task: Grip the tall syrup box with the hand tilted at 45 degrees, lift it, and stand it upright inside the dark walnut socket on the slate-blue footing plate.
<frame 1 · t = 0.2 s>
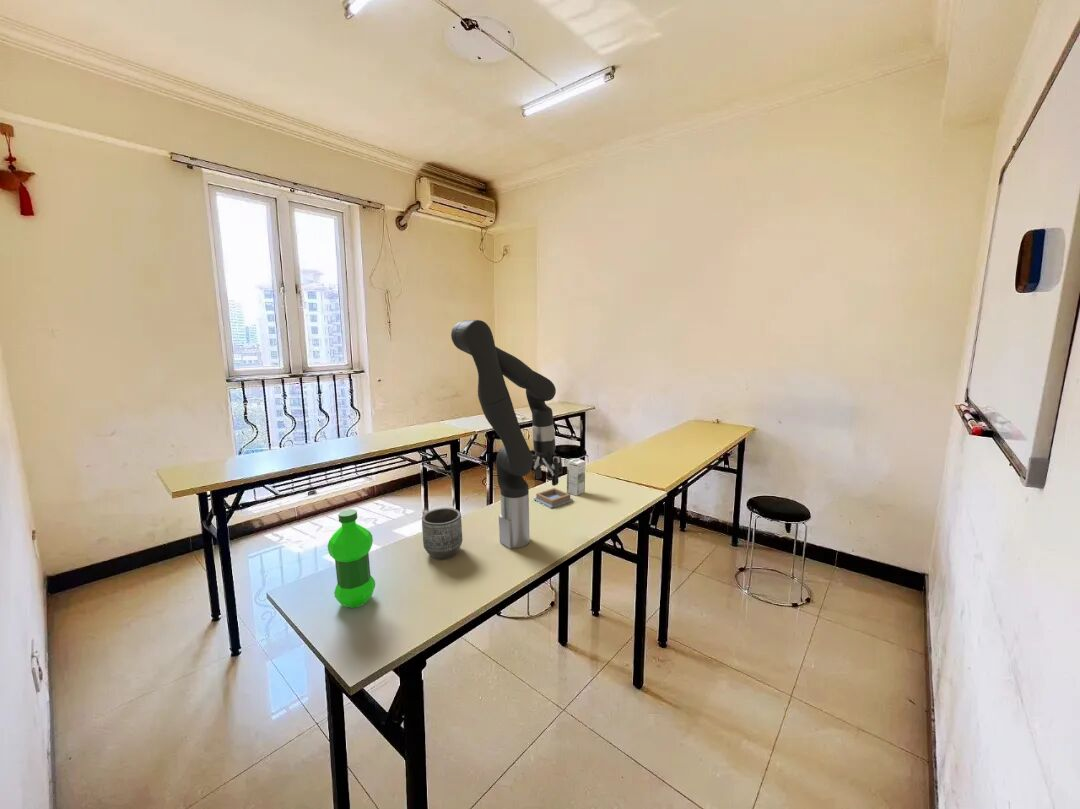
hand: (546, 481, 148), 18 cm above the table, tool pointing down, fingers open, 8 cm apart
footing plate: (553, 500, 176), on the table
syrup box: (576, 493, 184), on the table
planter: (443, 553, 136), on the table
plastic bottle: (356, 602, 112), on the table
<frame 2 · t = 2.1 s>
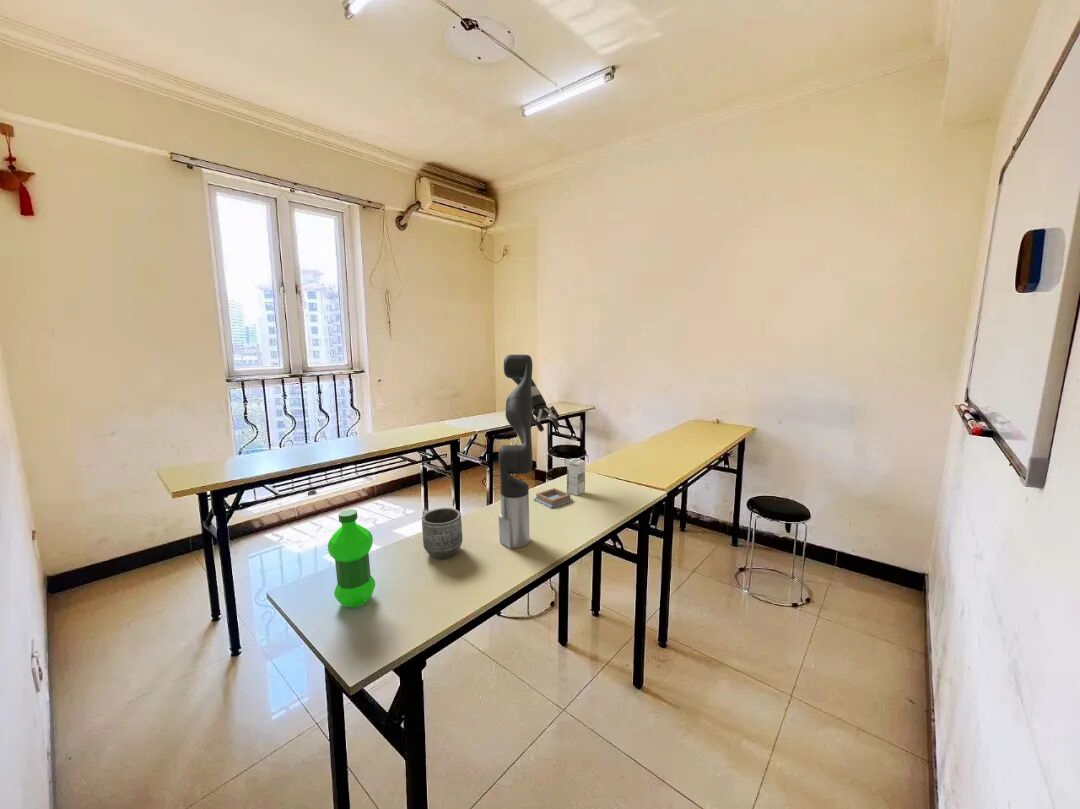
hand: (550, 429, 183), 28 cm above the table, tool tilted 45°, fingers open, 8 cm apart
nothing on the table moved.
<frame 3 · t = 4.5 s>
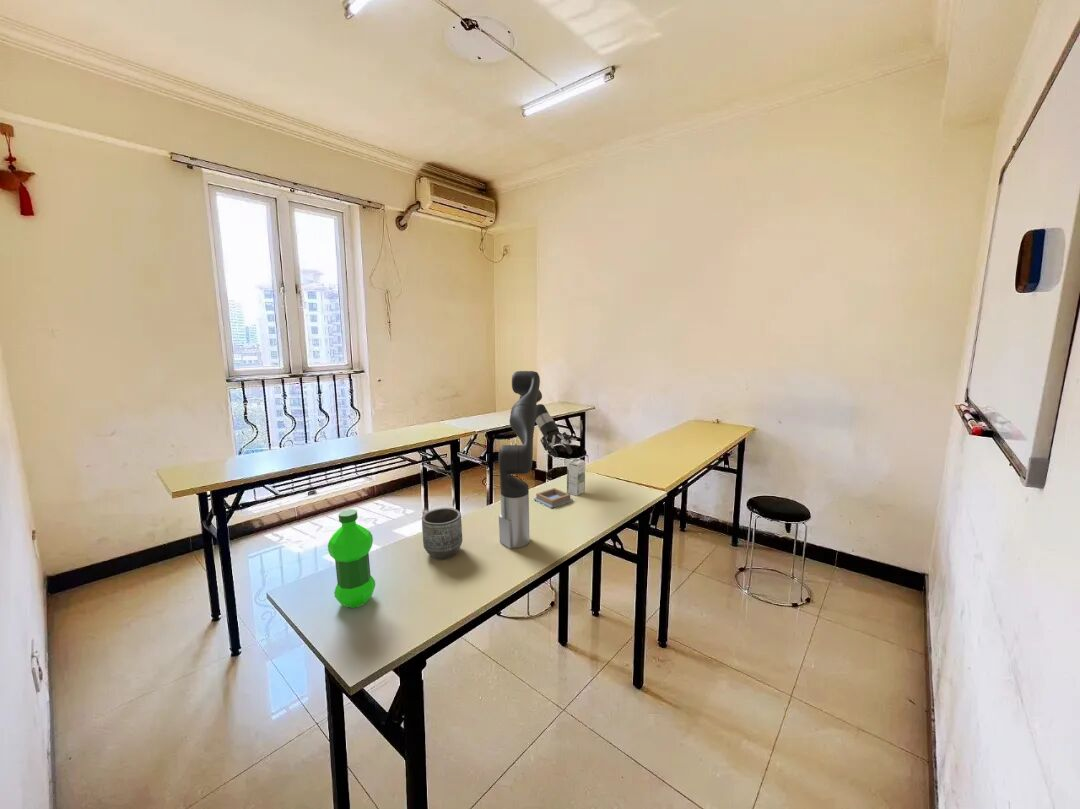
hand: (563, 454, 187), 15 cm above the table, tool tilted 45°, fingers open, 8 cm apart
nothing on the table moved.
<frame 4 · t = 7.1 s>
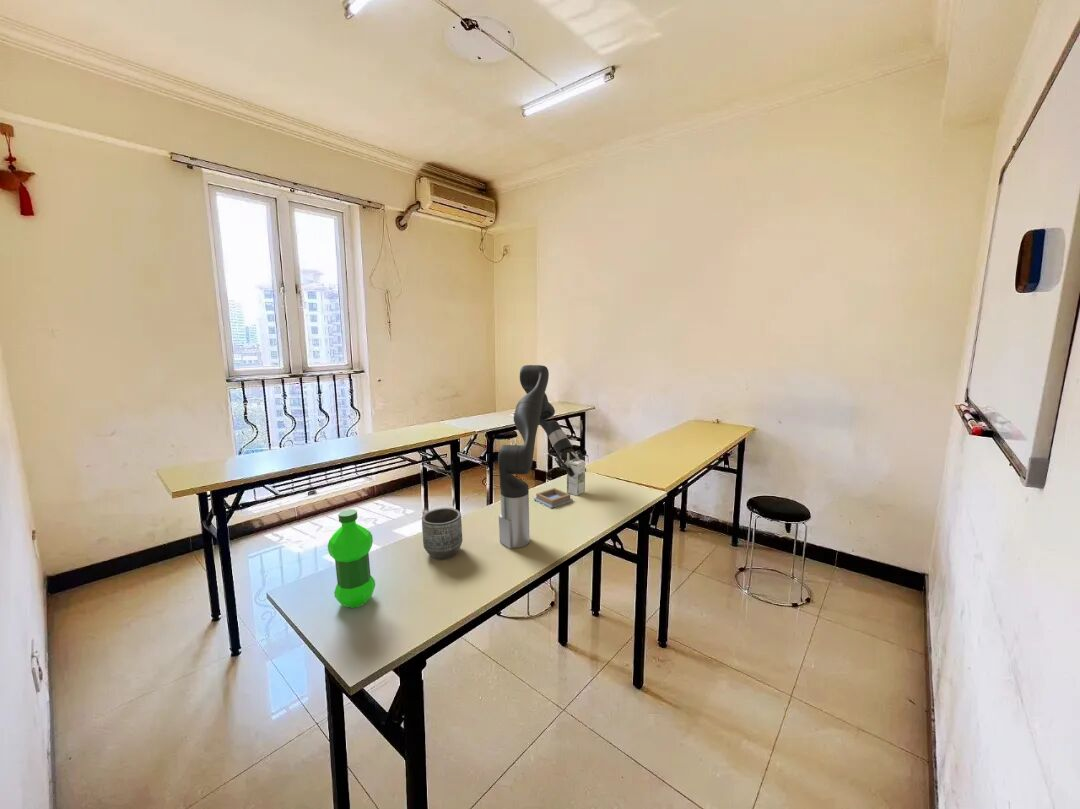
hand: (578, 474, 181), 9 cm above the table, tool tilted 45°, fingers closed on syrup box, 6 cm apart
syrup box: (576, 493, 184), on the table, touching gripper
everything else where it was.
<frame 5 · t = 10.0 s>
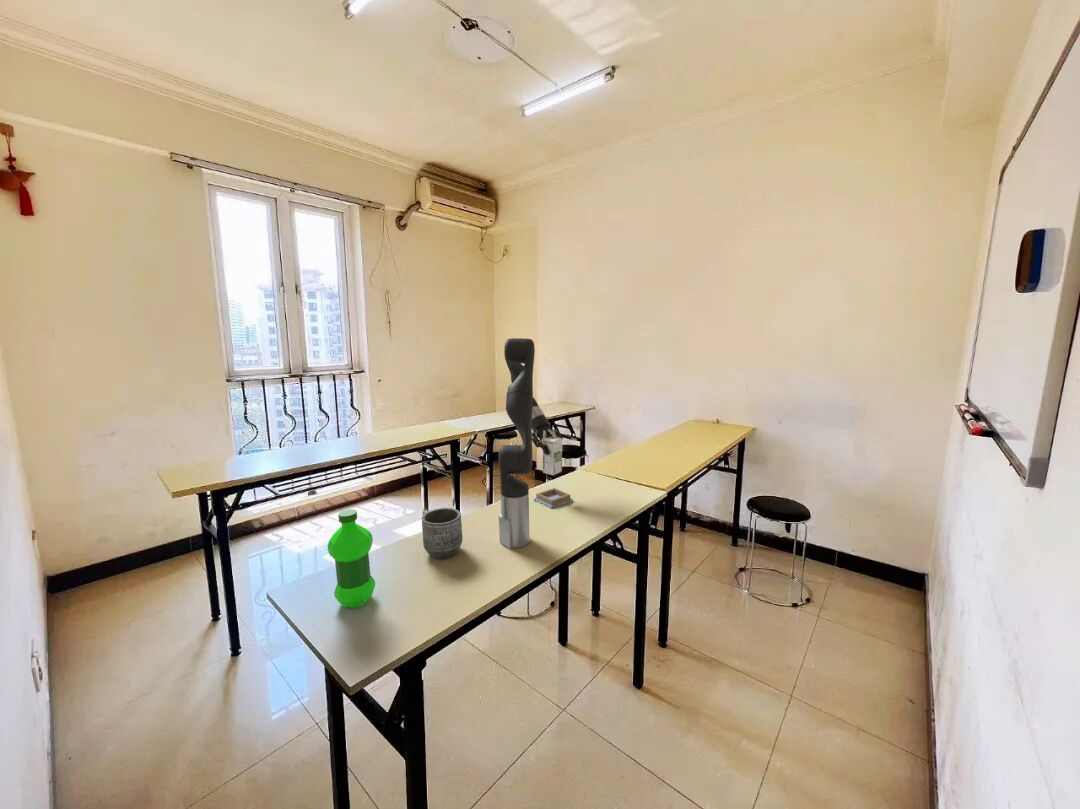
hand: (555, 452, 171), 21 cm above the table, tool tilted 45°, fingers closed on syrup box, 6 cm apart
syrup box: (552, 473, 174), point 12 cm above the table, touching gripper
everything else where it was.
when the fingers open (10 cm above the table, at t = 13.0 s): syrup box stays where it is, resting on footing plate.
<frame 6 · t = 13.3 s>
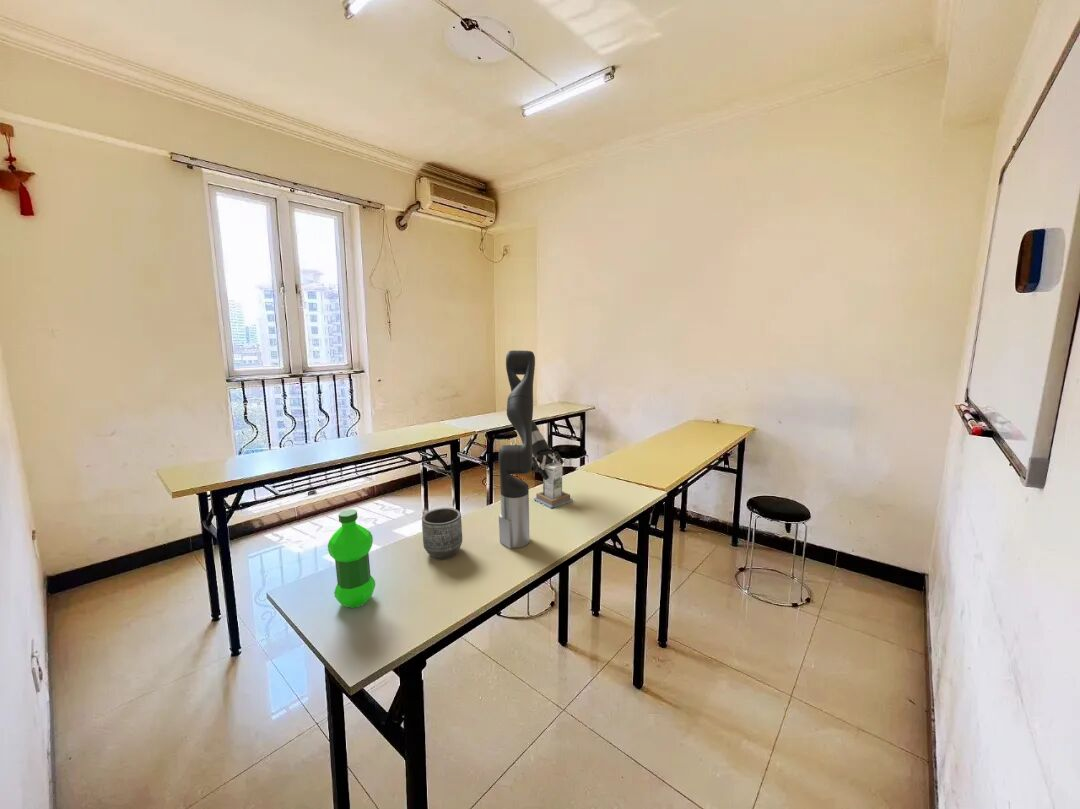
hand: (555, 476, 173), 11 cm above the table, tool tilted 45°, fingers open, 8 cm apart
syrup box: (552, 499, 176), point 1 cm above the table, touching footing plate
everything else where it was.
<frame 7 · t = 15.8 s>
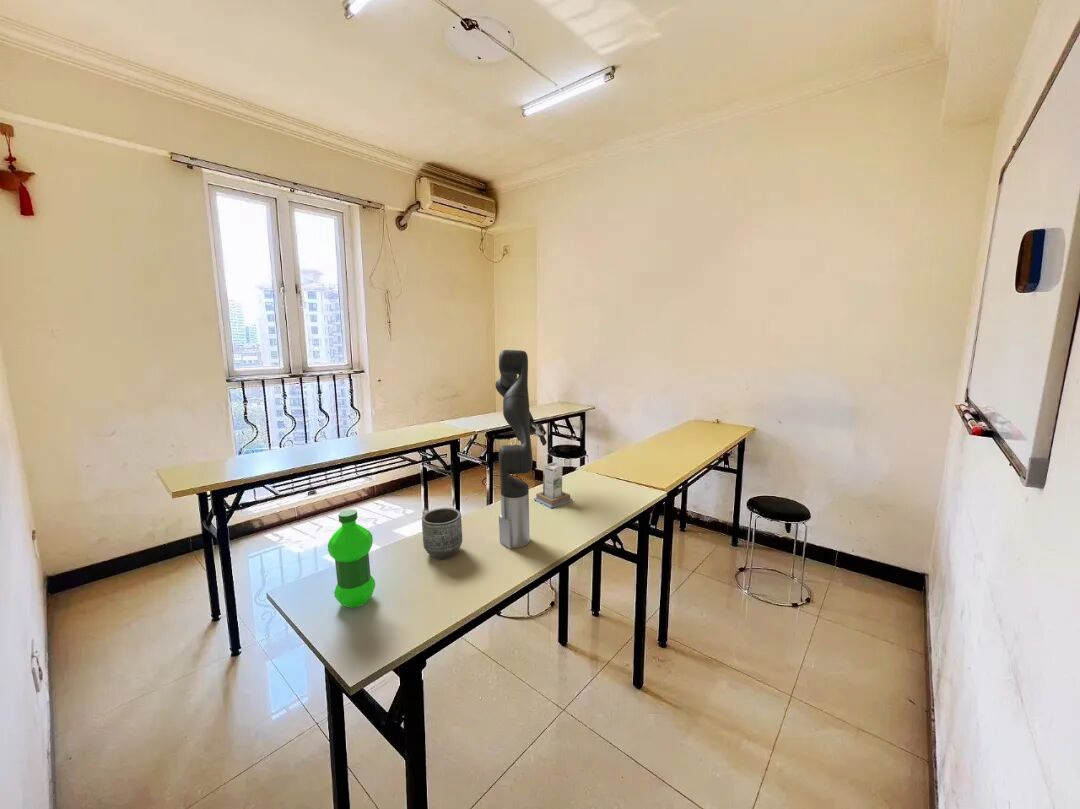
hand: (537, 446, 180), 21 cm above the table, tool tilted 40°, fingers open, 8 cm apart
nothing on the table moved.
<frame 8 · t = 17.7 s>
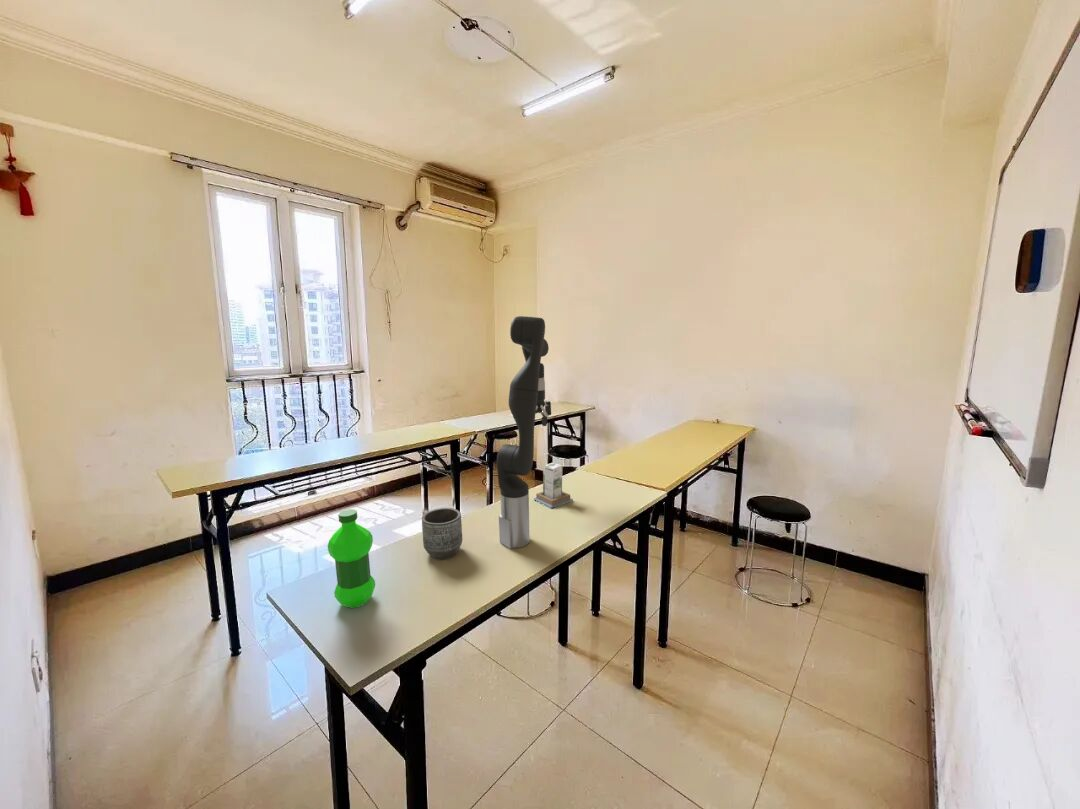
hand: (536, 427, 176), 30 cm above the table, tool pointing down, fingers open, 8 cm apart
nothing on the table moved.
at the end: syrup box 0.2 cm off-centre on the footing plate, point 0.6 cm above the footing plate's base; syrup box tilted 0°; the gripper is holding nothing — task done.
